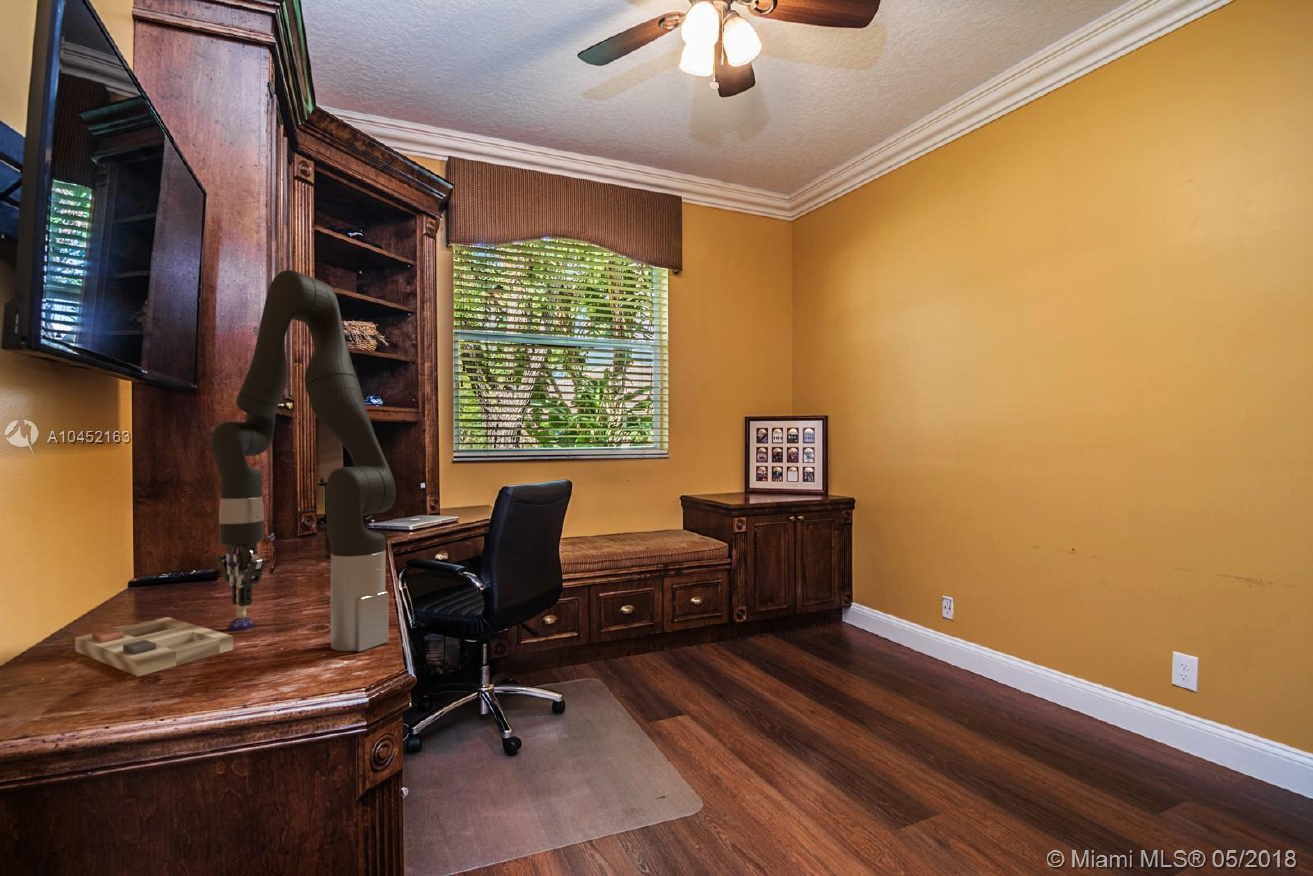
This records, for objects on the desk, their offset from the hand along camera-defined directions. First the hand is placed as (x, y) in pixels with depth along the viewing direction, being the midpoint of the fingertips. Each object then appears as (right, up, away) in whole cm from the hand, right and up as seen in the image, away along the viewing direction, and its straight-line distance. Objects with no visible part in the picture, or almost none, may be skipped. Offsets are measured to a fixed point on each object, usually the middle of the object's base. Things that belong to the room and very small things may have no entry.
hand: (241, 604), depth 122 cm
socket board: (-6, -5, -14) cm, 16 cm away
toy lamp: (0, -5, 0) cm, 5 cm away
